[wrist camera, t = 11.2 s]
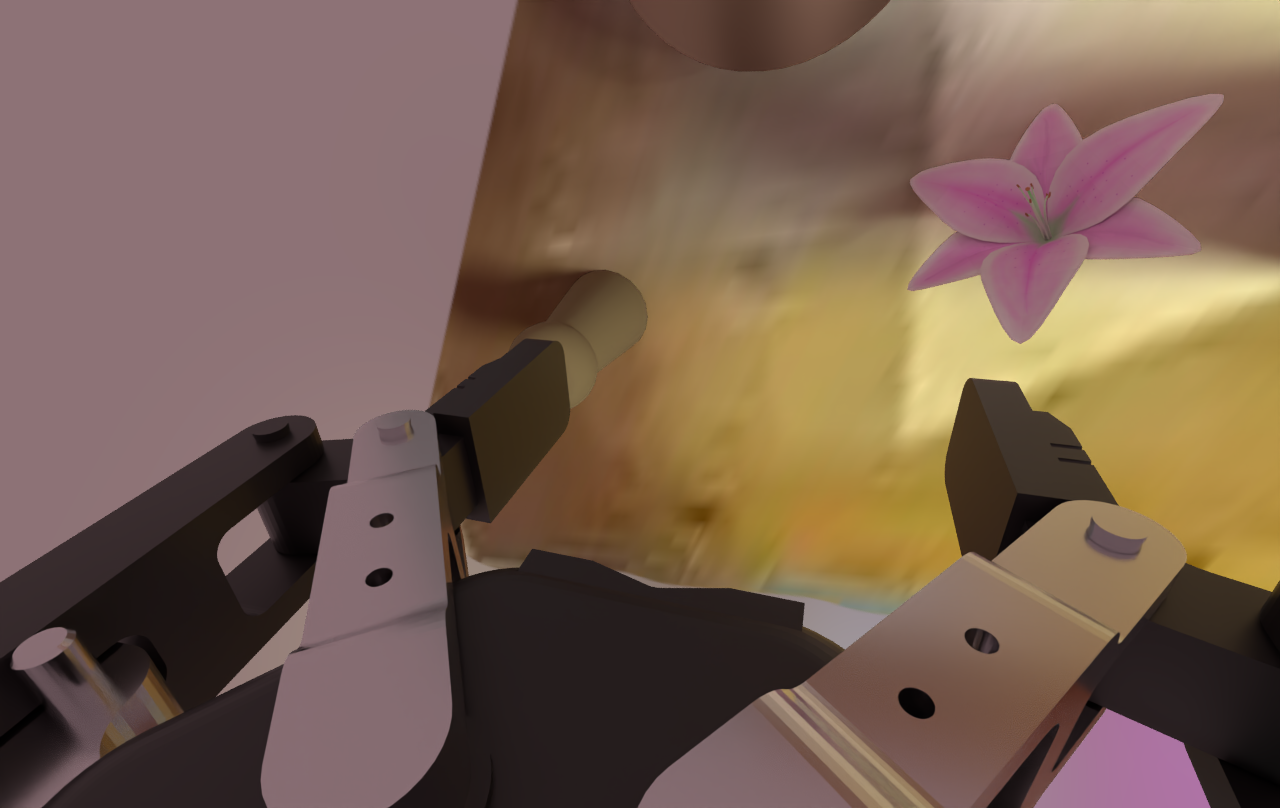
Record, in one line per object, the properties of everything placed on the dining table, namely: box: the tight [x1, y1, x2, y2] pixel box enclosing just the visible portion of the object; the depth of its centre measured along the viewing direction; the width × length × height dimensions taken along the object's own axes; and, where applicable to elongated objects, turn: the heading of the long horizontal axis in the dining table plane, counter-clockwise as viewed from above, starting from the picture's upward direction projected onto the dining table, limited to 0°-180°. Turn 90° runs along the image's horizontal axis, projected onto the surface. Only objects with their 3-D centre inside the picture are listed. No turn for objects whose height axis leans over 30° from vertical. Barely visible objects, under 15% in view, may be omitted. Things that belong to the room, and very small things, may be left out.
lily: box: [908, 94, 1224, 344], centre depth 28 cm, size 12×12×10 cm
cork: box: [509, 270, 648, 409], centre depth 37 cm, size 6×6×11 cm
